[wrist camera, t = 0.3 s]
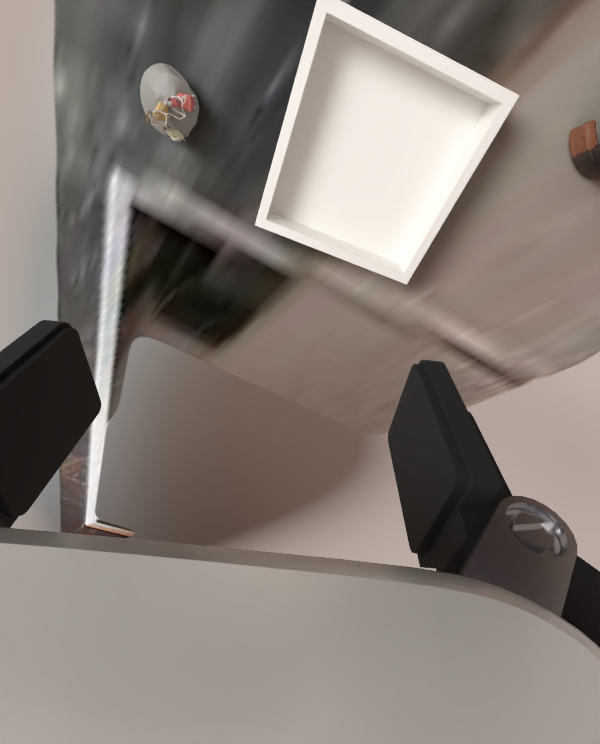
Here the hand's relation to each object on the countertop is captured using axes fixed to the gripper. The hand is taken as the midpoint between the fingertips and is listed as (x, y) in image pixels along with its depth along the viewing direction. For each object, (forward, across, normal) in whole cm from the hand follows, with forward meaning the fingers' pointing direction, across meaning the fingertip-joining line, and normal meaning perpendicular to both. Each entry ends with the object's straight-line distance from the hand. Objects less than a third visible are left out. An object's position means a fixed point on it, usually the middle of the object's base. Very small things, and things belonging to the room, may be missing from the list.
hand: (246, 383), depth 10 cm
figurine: (+30, +11, -6) cm, 32 cm away
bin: (+29, -6, -3) cm, 30 cm away
